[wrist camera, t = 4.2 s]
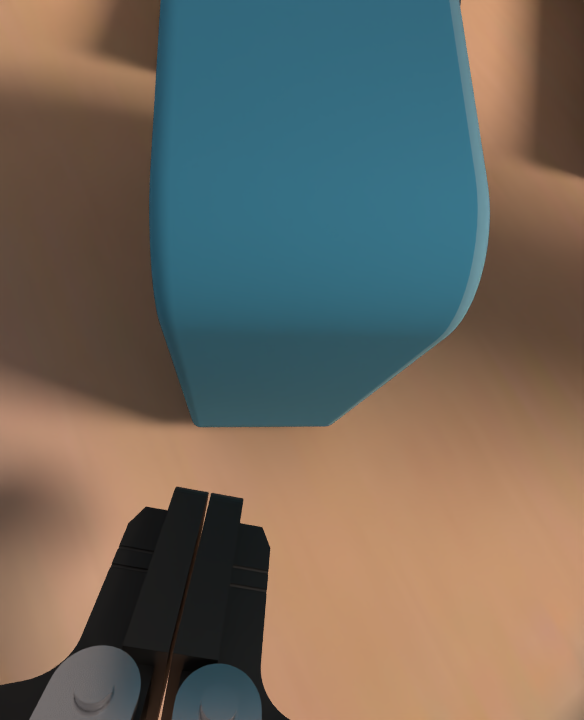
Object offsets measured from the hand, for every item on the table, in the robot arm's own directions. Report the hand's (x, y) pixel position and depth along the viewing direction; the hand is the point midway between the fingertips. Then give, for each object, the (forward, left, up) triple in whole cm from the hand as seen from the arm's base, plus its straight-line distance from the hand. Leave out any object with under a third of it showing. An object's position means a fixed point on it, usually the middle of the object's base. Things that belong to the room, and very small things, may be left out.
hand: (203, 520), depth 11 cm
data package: (0, -9, -6) cm, 10 cm away
